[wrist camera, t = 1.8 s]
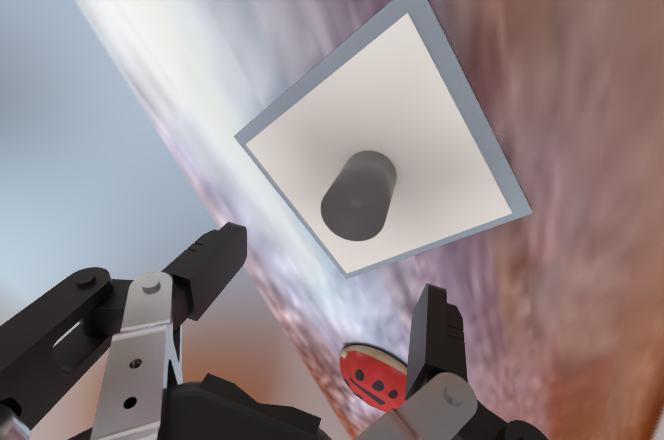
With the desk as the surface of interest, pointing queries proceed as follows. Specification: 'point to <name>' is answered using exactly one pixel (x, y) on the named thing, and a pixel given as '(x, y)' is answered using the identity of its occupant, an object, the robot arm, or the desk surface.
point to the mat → (451, 72)
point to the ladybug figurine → (374, 376)
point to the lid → (381, 155)
